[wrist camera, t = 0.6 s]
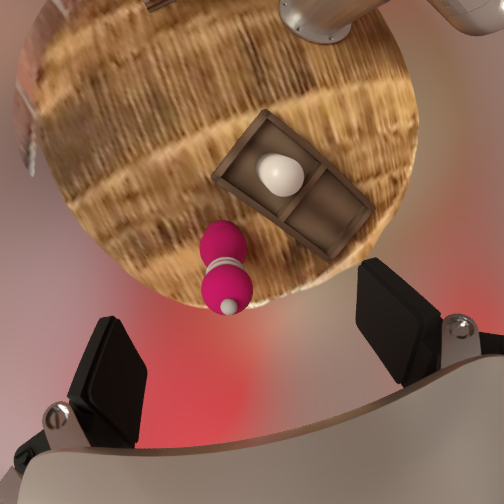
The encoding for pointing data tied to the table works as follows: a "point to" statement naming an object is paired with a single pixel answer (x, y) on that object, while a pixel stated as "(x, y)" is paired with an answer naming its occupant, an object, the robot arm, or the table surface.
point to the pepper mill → (225, 269)
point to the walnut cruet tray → (306, 198)
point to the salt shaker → (279, 173)
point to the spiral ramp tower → (156, 4)
